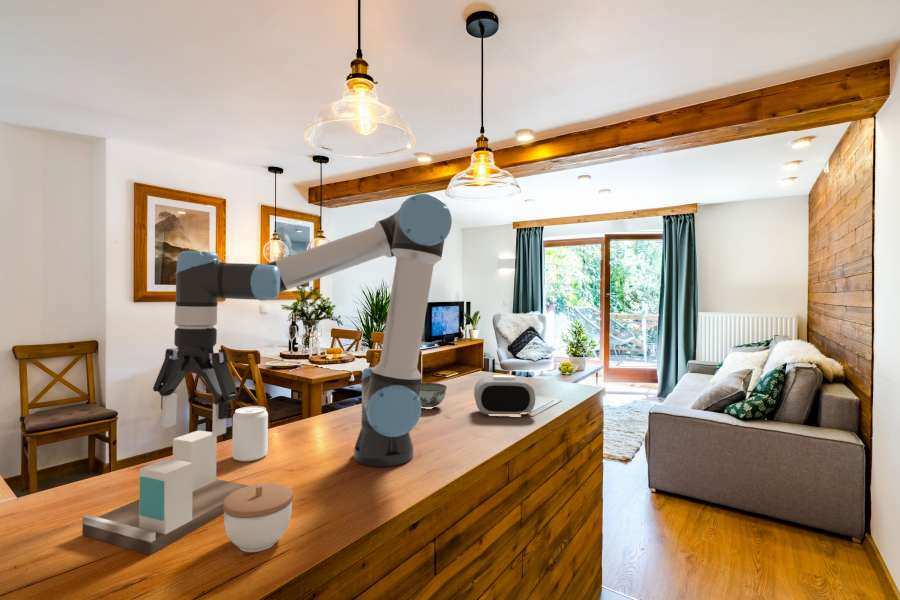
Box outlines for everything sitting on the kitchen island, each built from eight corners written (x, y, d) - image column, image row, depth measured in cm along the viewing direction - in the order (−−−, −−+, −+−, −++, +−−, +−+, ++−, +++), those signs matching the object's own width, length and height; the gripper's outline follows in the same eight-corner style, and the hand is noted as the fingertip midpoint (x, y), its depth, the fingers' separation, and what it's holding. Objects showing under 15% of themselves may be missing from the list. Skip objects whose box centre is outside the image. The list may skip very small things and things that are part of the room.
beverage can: (254, 464, 108) (254, 415, 108) (225, 461, 110) (225, 412, 110) (273, 452, 116) (274, 406, 116) (246, 450, 118) (246, 404, 118)
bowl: (405, 411, 159) (405, 388, 159) (414, 402, 173) (414, 381, 173) (442, 413, 157) (443, 390, 157) (449, 404, 170) (449, 383, 170)
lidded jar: (237, 526, 80) (238, 474, 80) (299, 524, 81) (299, 473, 81) (210, 562, 69) (211, 502, 69) (281, 560, 70) (282, 500, 70)
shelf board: (254, 496, 91) (254, 480, 91) (150, 555, 71) (150, 534, 71) (194, 484, 97) (194, 469, 97) (82, 535, 76) (82, 516, 76)
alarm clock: (475, 417, 153) (476, 378, 153) (473, 410, 162) (474, 373, 162) (535, 418, 153) (536, 379, 153) (530, 411, 163) (530, 374, 162)
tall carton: (216, 480, 94) (216, 433, 94) (191, 492, 88) (191, 441, 88) (197, 476, 96) (197, 430, 96) (171, 487, 90) (172, 438, 90)
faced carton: (166, 513, 80) (167, 458, 80) (192, 520, 78) (192, 462, 78) (137, 528, 75) (138, 468, 75) (164, 535, 73) (164, 474, 73)
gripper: (258, 329, 91) (255, 433, 91) (168, 323, 99) (165, 418, 99) (229, 331, 84) (226, 444, 84) (134, 324, 92) (132, 427, 92)
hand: (193, 430), depth 92 cm, fingers open, 13 cm apart
